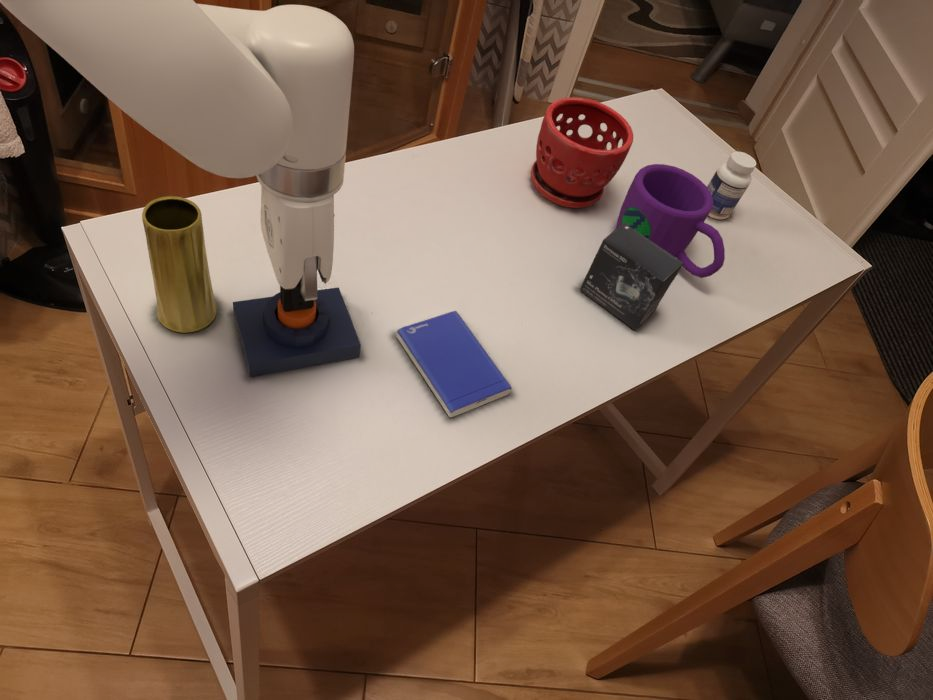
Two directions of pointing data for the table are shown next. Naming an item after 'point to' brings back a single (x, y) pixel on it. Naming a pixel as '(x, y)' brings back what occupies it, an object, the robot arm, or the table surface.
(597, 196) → the flower pot
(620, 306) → the box
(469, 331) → the hard drive
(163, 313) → the vase
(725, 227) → the table surface
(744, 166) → the pill bottle
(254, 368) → the button block
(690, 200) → the mug
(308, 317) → the orange button
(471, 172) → the table surface
